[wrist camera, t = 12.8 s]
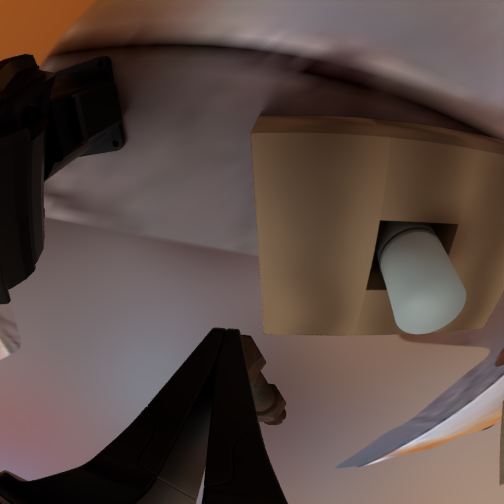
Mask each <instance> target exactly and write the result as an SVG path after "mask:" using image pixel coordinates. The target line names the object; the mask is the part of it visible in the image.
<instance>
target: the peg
mask: <svg viewBox="0 0 504 504" xmlns="http://www.w3.org/2000/svg"><path fill="white" fill-rule="evenodd" d="M375 251H376V254H377V257H378V261H379V266H380V270H381V273H382V275H383V277H384V281H385V284H386V288H387V291H388V295H389V298H390V302H391V306H392V310H393V314H394V318H395V321H396V324H397V326H398V327H399V328H400V329H401V330H403V331H405V332H407V333H411V334H425V333H430V332H433V331H436V330H438V329H440V328H442V327H444V326H446V325H447V324H449V323H450V322H451V321H453V320H454V319H455V318H456V317H457V316H458V314H459V313H460V312H461V310H462V309H463V307H464V305H465V302H466V290H465V288H464V286H463V284H462V282H461V280H460V278H459V276H458V274H457V272H456V270H455V268H454V266H453V264H452V262H451V261H450V259H449V257H448V255H447V253H446V252H445V250H444V248H443V245H442V243H441V241H440V239H439V238H438V236H437V235H436V234H435V232H434V231H433V229H432V228H431V226H430V224H429V223H428V222H409V221H386V220H380V223H379V228H378V234H377V239H376V245H375Z"/></svg>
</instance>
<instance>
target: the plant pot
mask: <svg viewBox="0 0 504 504" xmlns="http://www.w3.org/2000/svg"><path fill="white" fill-rule="evenodd" d="M500 439H501V440H500V485H503V484H504V401H503V408H502V421H501V438H500Z"/></svg>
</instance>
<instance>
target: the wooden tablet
mask: <svg viewBox="0 0 504 504" xmlns="http://www.w3.org/2000/svg"><path fill="white" fill-rule="evenodd" d="M502 365H504V349H503V350H502V352H501V354H500V356H499V357H498V359H497V361H496V364H495V366H496V367H497V366H502Z"/></svg>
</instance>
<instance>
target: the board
mask: <svg viewBox="0 0 504 504" xmlns="http://www.w3.org/2000/svg"><path fill="white" fill-rule="evenodd" d="M251 147H252V161H253V175H254V190H255V204H256V219H257V234H258V249H259V265H260V279H261V295H262V312H263V328H264V334H280V335H389V334H390V335H391V334H411V333H407V332H405V331H403V330H401V329H400V328H399V327H398V326H397V324H396V321H395V318H394V314H393V310H392V306H391V302H390V298H389V295H388V291H387V288H386V284H385V281H384V277H383V275H382V273H381V270H380V266H379V261H378V257H377V254H376V252H374V250H375V245H376V239H377V234H378V228H379V223H380V220H386V221H409V222H428V223H429V224H430V226H431V228H432V229H433V231H434V232H435V234H436V235H437V236H438V238H439V239H440V241H441V243H442V245H443V248H444V250H445V252H446V253H447V255H448V257H449V259H450V261H451V262H452V264H453V266H454V268H455V270H456V272H457V274H458V276H459V278H460V280H461V282H462V284H463V286H464V288H465V290H466V302H465V305H464V307H463V309H462V310H461V312H460V313H459V314H458V316H457V317H456V318H455V319H454V320H453V321H451V322H450V323H449V324H447V325H446V326H444V327H442V328H440V329H438V330H436V331H433V332H445V331H457V330H468V329H478V328H483V326H484V325H485V323H486V321H487V320H488V318H489V316H490V314H491V313H492V311H493V309H494V307H495V306H496V304H497V302H498V300H499V298H500V296H501V295H502V293H503V291H504V140H500V139H496V138H492V137H488V136H483V135H479V134H474V133H469V132H464V131H459V130H453V129H448V128H442V127H436V126H429V125H423V124H416V123H408V122H400V121H391V120H381V119H369V118H356V117H339V116H312V115H268V116H259V117H258V119H257V121H256V123H255V125H254V127H253V129H252V131H251Z"/></svg>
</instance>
